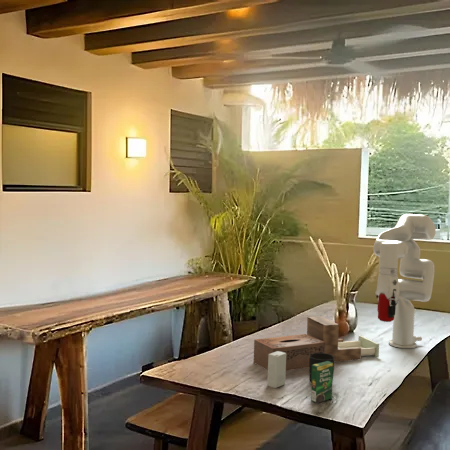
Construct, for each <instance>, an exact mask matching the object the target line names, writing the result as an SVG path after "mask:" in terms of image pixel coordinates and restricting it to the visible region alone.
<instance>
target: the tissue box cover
mask: <svg viewBox="0 0 450 450" xmlns="http://www.w3.org/2000/svg"><path fill="white" fill-rule="evenodd" d="M253 342H254V343H253V363H254V364H255V363H256V364H255V365H257V364H258V365H257V366H259V367H261V368H263V369H265V370H267V371H268V357H269V354H271V353H274V352H276V351H280V352H284V353H286V372H287V371H288V372H289V371H293V370H300V369H301V370H302V369H309V357H310V356H311V355H312V354H313V353H325V342H324V341H321V340H319V339H316V338H314V337H311V336H309V335H307V333H301V334H292V335H283V336H275V337H266V338H264V337H263V338H258V339H257V338H256V339H255V338H254V341H253Z"/></svg>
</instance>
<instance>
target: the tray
mask: <svg viewBox="0 0 450 450" xmlns="http://www.w3.org/2000/svg"><path fill="white" fill-rule="evenodd" d="M346 348H361V357H364V356H373V357H375V358H379V356H380V355H379V354H380V343H378V342H376V341H374V340H371V339H369V338H367V337H365V336H362V335H361V334H360V335H358V340H350V341H343V342H338V349H346Z"/></svg>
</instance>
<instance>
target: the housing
mask: <svg viewBox="0 0 450 450" xmlns="http://www.w3.org/2000/svg"><path fill="white" fill-rule="evenodd" d="M306 322H307V323H306V324H307V325H306V335H309V336H311V337H314V338H316V339H319V340H321V341H324V342H325V353H326V354H330V355H332V356H333V357H334V359H335V360H334V363H335V362H336V363H337V362H347V361H348V362H349V361H359V360H360V361H361V357H362V356H361V348H346V349H338V342H344V339H343V338H339V330H340V329H339V325H340V324H339V323H336V322H334V321H332V320H330V319H328V318H326V317H324V316H322V315H320V316H319V315H317V316H307V321H306Z"/></svg>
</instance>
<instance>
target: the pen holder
mask: <svg viewBox="0 0 450 450" xmlns="http://www.w3.org/2000/svg"><path fill="white" fill-rule="evenodd" d="M334 360H335V359H334V357H333V356H332V355H330V354H326V353H313V354H312V355H311V356H310V357H309V367H308V370H309V372H308V373H309V375H308V376H309V379H308V380H309V382H310V383H311V379H312V365H313V364H318V363H322V362H325V361H330V362H332V363H333V373H334V370H335V362H334ZM333 378H334V377H333ZM333 378H332V383H333V381H334V379H333Z"/></svg>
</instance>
